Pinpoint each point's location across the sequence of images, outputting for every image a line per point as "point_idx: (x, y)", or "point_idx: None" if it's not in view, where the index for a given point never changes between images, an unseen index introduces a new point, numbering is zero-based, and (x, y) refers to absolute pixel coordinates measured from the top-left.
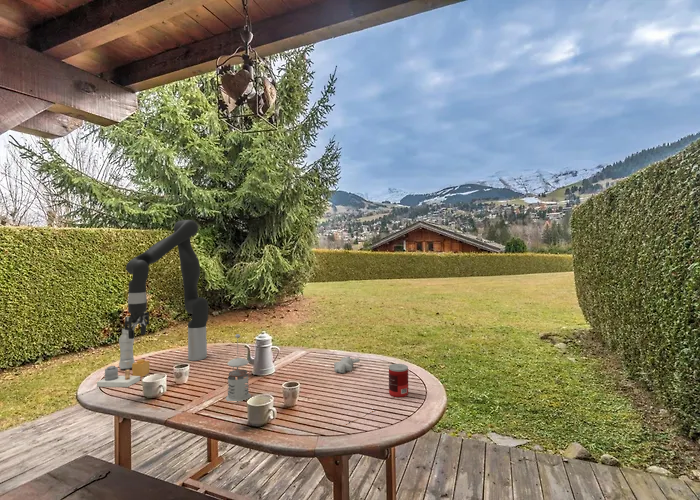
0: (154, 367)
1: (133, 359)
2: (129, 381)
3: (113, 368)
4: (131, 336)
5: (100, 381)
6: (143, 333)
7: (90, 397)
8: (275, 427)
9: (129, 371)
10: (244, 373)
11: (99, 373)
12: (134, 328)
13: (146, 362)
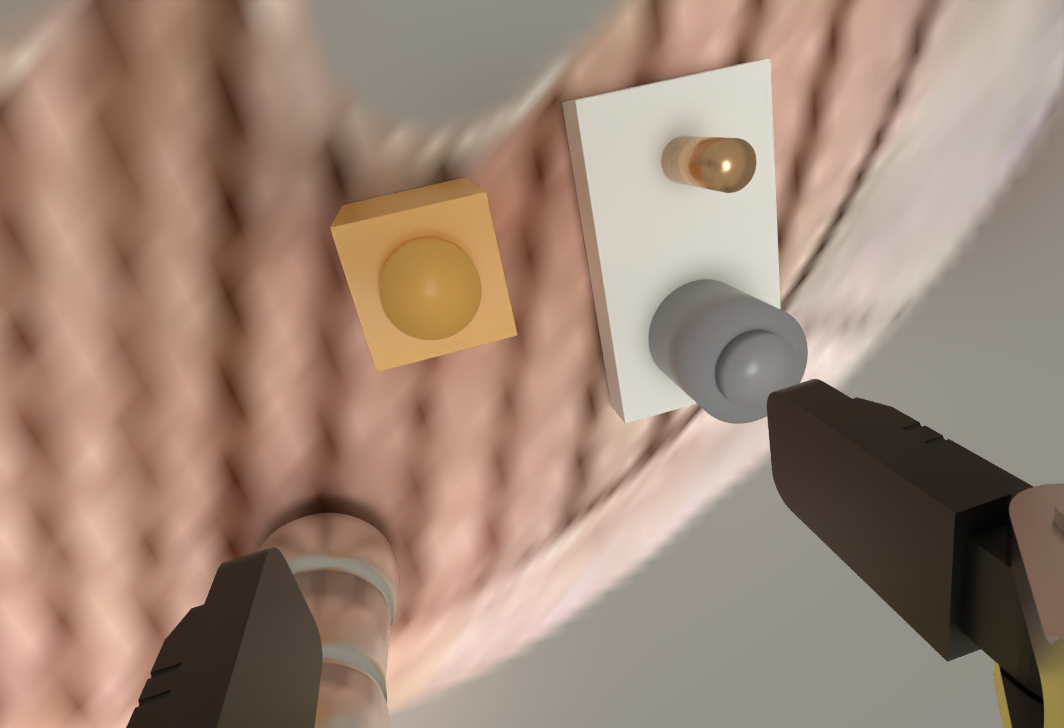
0: (164, 319)
1: None
2: (741, 65)
3: (768, 331)
4: (896, 410)
5: None
6: (286, 596)
7: (956, 187)
8: None
9: (719, 138)
10: None
11: (506, 636)
12: (1028, 560)
13: (397, 211)
